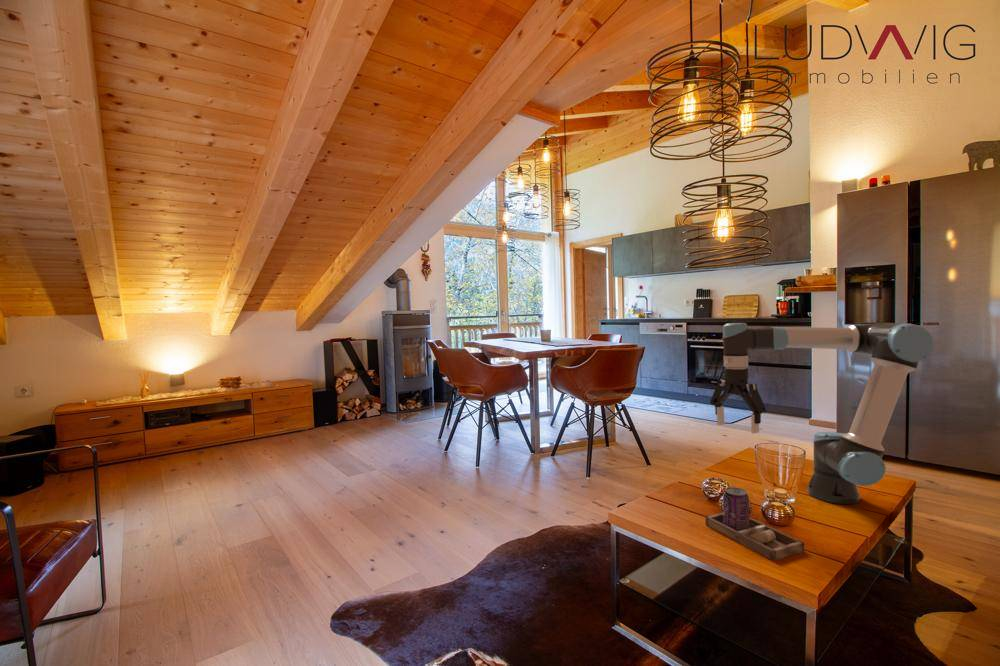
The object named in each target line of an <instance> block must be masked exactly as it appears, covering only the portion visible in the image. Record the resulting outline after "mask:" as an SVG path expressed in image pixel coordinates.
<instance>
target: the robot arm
mask: <svg viewBox="0 0 1000 666" xmlns="http://www.w3.org/2000/svg"><path fill="white" fill-rule="evenodd" d="M722 329H723V330H722V347H723V368H724V369H723V379H717V381H716V387H715V389H714V392H713V394H712V397H710V401H709V403H710V404H711V405H713V406H714V408H715V409H714V411H715V412H714V413H715V415H716V425H717V426H722V425H725V407H724V405H723V404H724V403H725V401H726V400H728V398H729V397H730V396H731V395H735V396H740V397H741V398H742V399H743V400H744V402H745V403H746V405H747V406H748V407H749V409H750V411H751V412H752V413H751V414H750V417H751V418H750V420H751V421H750V424H751V425H750V426H751V434H754V435H755V434H759V433H760V424H762V423H761V422H762V421H761V420H762V419H761V418H762V414H765V413H767V408H766V405H765V403H764V401H763V399H762V397H761V395H760V393H759V390H758V384H757V383H749V381H748V380H749V368H748V367H749V351H771V350H772V351H776V350H777V351H778V350H784V349H788V348H789V349H790V348H791V349H822V350H823V349H826V350H828V349H829V350H831V349H832V350H833V349H834V350H846V351H848V352H849V353H862V354H867V355H871V357H870V361H871V362H872V363H873V367H872V370H871V373H870V376H869V377H868V381H867V383H866V386H865V389H864V391H863V393H862V396H861V399H860V403H859V405H858V406H857V410H856V413H855V416H854V417H853V420H852V423H851V425H850V428H849V431H848V432H847V433H845V432H835V431H833V432H831V431H818V432H816V433H814V435H813V442H812V443H813V473H812V475H811V477H810V480H809V483H808V484H807V493H808V495H810V496H811V497H813V498H815V499H817V500H820V501H823V502H827V503H832V504H839V505H856V504H859V503H860V499H861V497H860V496H861V495H860V492H859V490H858V487H857V486H859V487H861V486H862V487H865V486H867V487H868V486H871V485H875V484H877V483H879V482H880V481H881V480H882V479H883V478H884V477H885V474H886V471H887V470H886V464H885V462H884V460H883V459H882V458H883V456H884V454H885V448H884V447H883V445H882V441H883V438H884V436H885V434H886V431H887V428H888V425H889V424H890V423H889V422H890V420H891V417H892V416H893V413H894V410H895V407H896V406H897V405H896V404H897V403H898V400H899V398H900V395H901V392H902V389H903V387H904V385H905V381H906V378H907V376H908V374H909V373H912V372H914V371H916V370H917V368H918V365H919V363H920V362H922V361H923V360H925V359H928V358H929V357H930V356H931V354H932V353H933V352H934V347H935V342H934V338H933V336H932V334H931V333H930V332H929V330H927V329H926V328H925V327H923V326H921V325H918V324H913V323H907V322H902V323H901V322H899V323H898V322H878V323H877V322H876V323H869V324H867V323H866V324H850V325H848V326H847V327H823V326H822V327H814V326H813V327H811V326H810V327H806V326H803V327H802V326H754V325H751V326H750V325H749V326H748V324H747V323H745V322H731V323H730V322H729V323H725V324H724V325H723V327H722ZM724 388H725V389H724Z"/></svg>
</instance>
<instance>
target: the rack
mask: <svg viewBox="0 0 1000 666" xmlns="http://www.w3.org/2000/svg"><path fill="white" fill-rule="evenodd" d="M705 526H707V527H709V528H711V529H713V530H715V531H716V532H718V533H720V534H722V535H724V536H725V537H727V538H729V539H732V540H733V541H735V542H737V543H738V544H741V545H742V546H745V547H746V548H748V549H750V550H751V551H753V552H756V553H758V554H760V555H761V556H763V557H765V558H767V559H769V560H771V561H773V562H775V561H778V560H782V559H784V558H787V557H791V556H794V555H797V554H800V553H803V552H805V542H804V541H802V540H800V539H798V538H796V537H794V536H791V535H789V534H786V533H784V532H783V531H781V530H778V529H776V528H774V527H771V526H769V525H767V524H765V523H763V522H761V521H758V520H756V519H755V518H753V517H750V516H749V529H745V530H742V531H736V530H734V529H732V528H730V527H728V526H726V525H724V524H723V512H720V513H716V514H712V515H708V516H705ZM766 530H772V531H773V532H774V533H775V535H776V539H775V540H774V541H771V542H767V543H764V544H762V543H760V542H758V541H756V540H754V539H752V538H750V537H749V536H750V535H751V534H755V533H758V532H762V531H766Z"/></svg>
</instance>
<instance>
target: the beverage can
mask: <svg viewBox="0 0 1000 666" xmlns="http://www.w3.org/2000/svg"><path fill="white" fill-rule="evenodd" d="M722 495H723V496H722V513H723V524H724V525H726V526H728V527H730V528H732V529H734V530H736V531H742V530H745V529H749V517H750V498H749V497H750V496H749V495H748V491H747V490H746V489H743V488H741V487H737V486H729V487H725V488H724V492H723V494H722Z"/></svg>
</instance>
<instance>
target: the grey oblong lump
mask: <svg viewBox="0 0 1000 666" xmlns="http://www.w3.org/2000/svg"><path fill="white" fill-rule="evenodd" d="M749 537H750V538H752V539H754V540H756V541H758V542H760V543H762V544H764V543H767V542H771V541H774V540H775V539H776V535H775V533H774V532H773V531H772V530H766V531H762V532H758V533H755V534H751V535H750V536H749Z"/></svg>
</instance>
